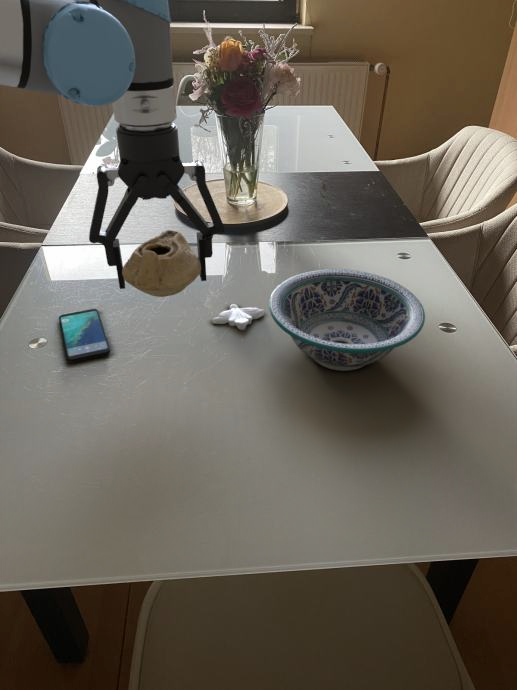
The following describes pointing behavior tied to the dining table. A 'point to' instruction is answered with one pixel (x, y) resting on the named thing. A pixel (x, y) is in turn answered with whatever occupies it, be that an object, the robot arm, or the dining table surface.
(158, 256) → the oil lamp
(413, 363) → the dining table surface
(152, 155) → the robot arm
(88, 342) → the smartphone
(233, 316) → the acanthus leaf ornament
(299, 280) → the bowl
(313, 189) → the dining table surface
